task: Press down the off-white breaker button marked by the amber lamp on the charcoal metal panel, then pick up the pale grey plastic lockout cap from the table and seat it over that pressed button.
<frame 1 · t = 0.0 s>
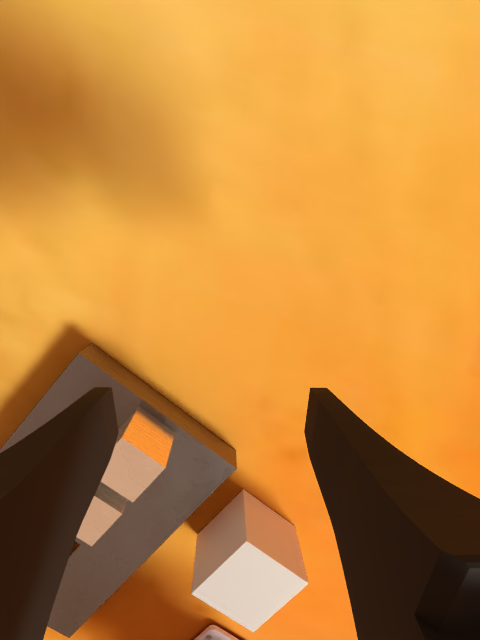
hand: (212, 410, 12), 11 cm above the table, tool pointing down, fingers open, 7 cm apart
lockout cap: (246, 530, 26), on the table
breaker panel: (85, 490, 25), on the table
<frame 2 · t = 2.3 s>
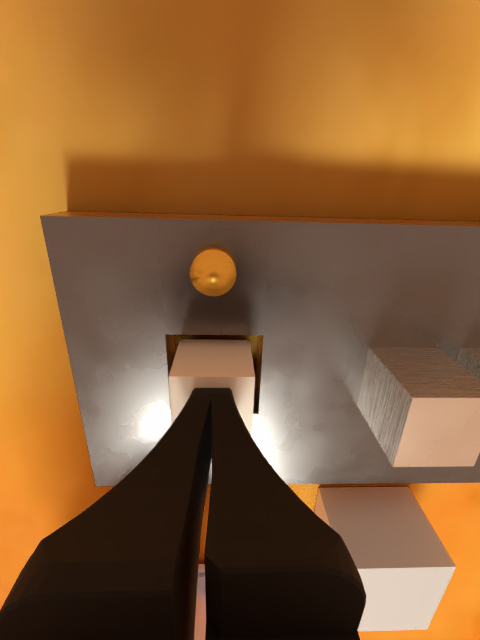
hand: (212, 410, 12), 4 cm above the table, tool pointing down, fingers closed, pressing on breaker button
lockout cap: (356, 518, 21), on the table
breaker button: (213, 388, 13), point 3 cm above the table, slide at 1.2 cm, touching gripper
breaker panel: (297, 354, 16), on the table
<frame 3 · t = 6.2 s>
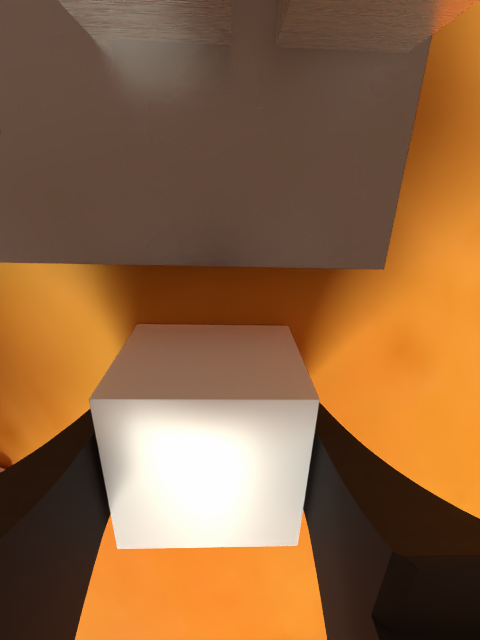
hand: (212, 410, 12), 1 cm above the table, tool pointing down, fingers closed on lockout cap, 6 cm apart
lockout cap: (214, 387, 13), on the table, touching gripper
when the fingers open (4 cm above the table, at t = 10.0 s): lockout cap stays where it is, resting on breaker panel.
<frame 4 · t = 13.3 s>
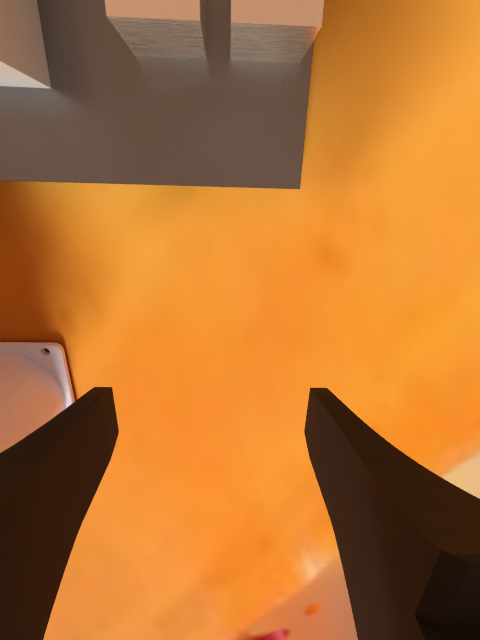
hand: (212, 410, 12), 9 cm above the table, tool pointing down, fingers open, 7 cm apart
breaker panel: (88, 28, 15), on the table
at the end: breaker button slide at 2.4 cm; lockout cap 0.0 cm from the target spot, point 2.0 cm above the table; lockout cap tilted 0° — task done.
